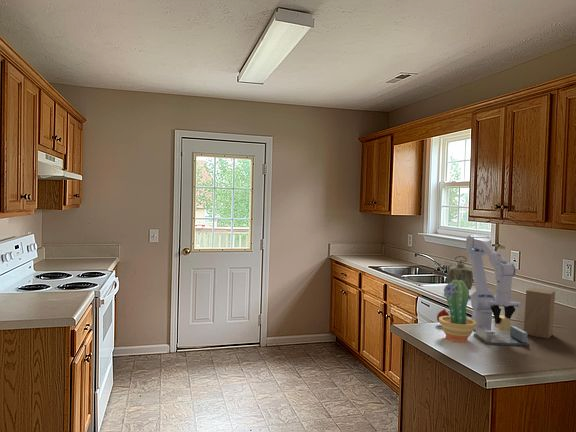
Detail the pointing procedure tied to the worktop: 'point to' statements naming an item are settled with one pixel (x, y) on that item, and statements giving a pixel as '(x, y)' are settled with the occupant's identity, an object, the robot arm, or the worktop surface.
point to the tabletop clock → (460, 274)
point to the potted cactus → (457, 313)
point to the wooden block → (539, 312)
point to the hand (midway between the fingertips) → (501, 323)
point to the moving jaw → (518, 334)
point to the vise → (496, 338)
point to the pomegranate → (442, 314)
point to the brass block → (503, 323)
